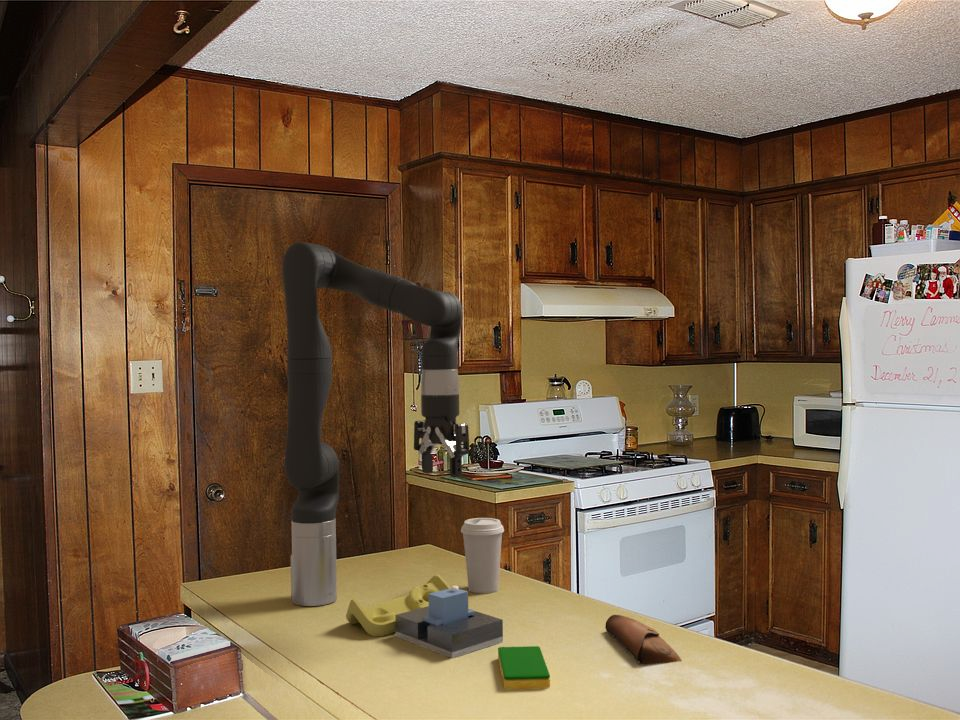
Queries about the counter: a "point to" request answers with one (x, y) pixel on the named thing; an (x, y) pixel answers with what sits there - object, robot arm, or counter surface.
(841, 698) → the counter surface
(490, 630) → the grey hollow block
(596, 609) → the counter surface
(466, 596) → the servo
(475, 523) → the coffee cup
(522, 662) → the dish sponge
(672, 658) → the sunglasses case
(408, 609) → the plastic component
